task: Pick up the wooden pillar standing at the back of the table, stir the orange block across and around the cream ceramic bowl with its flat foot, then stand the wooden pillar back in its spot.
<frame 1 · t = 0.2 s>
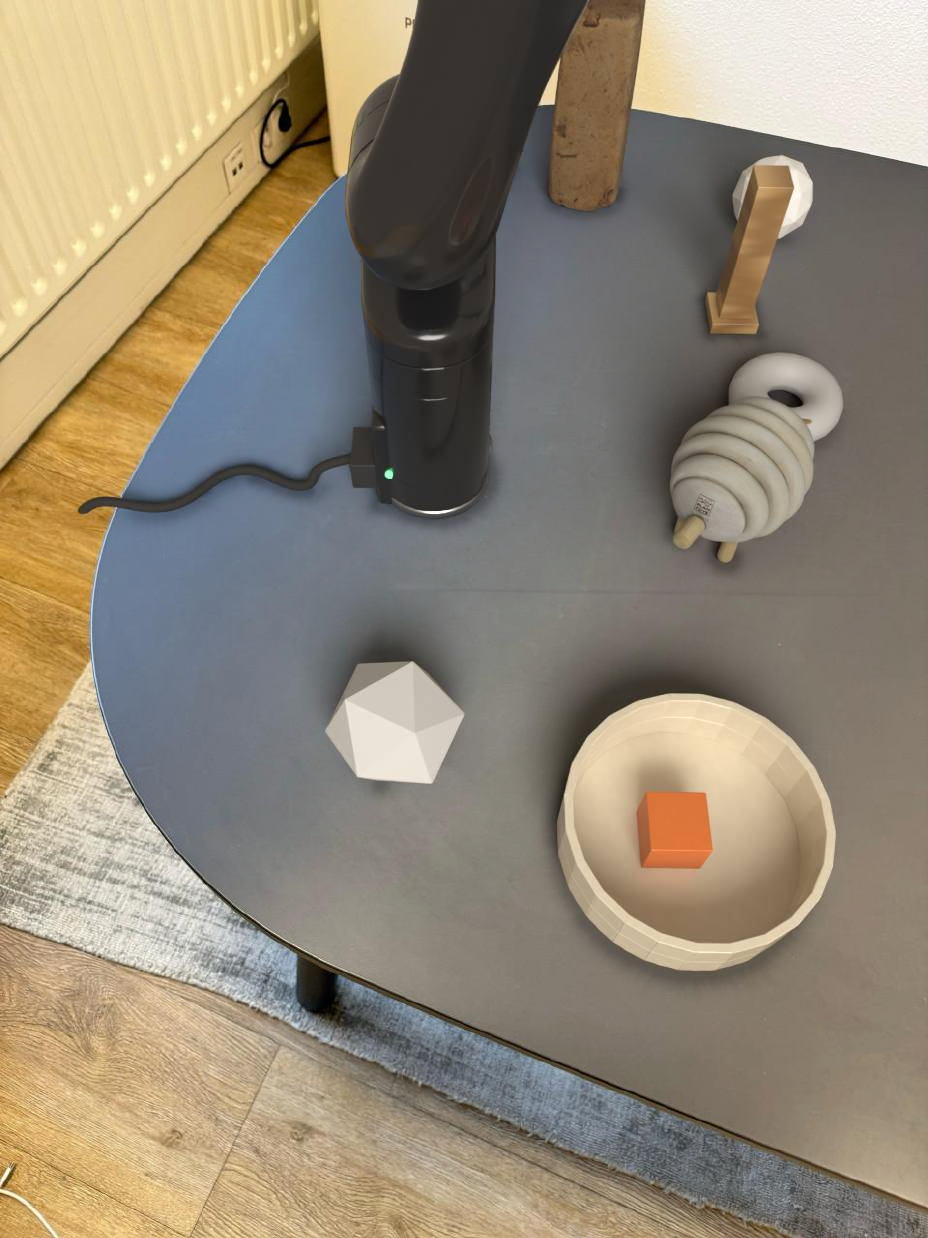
donut: (779, 413, 88), on the table
wooden pillar: (729, 317, 94), on the table
bowl: (680, 842, 67), on the table
die: (397, 746, 71), on the table
geometric ball: (761, 231, 100), on the table
block: (584, 186, 104), on the table
toy sheep: (717, 519, 82), on the table
orange block: (667, 840, 67), point 1 cm above the table, touching bowl
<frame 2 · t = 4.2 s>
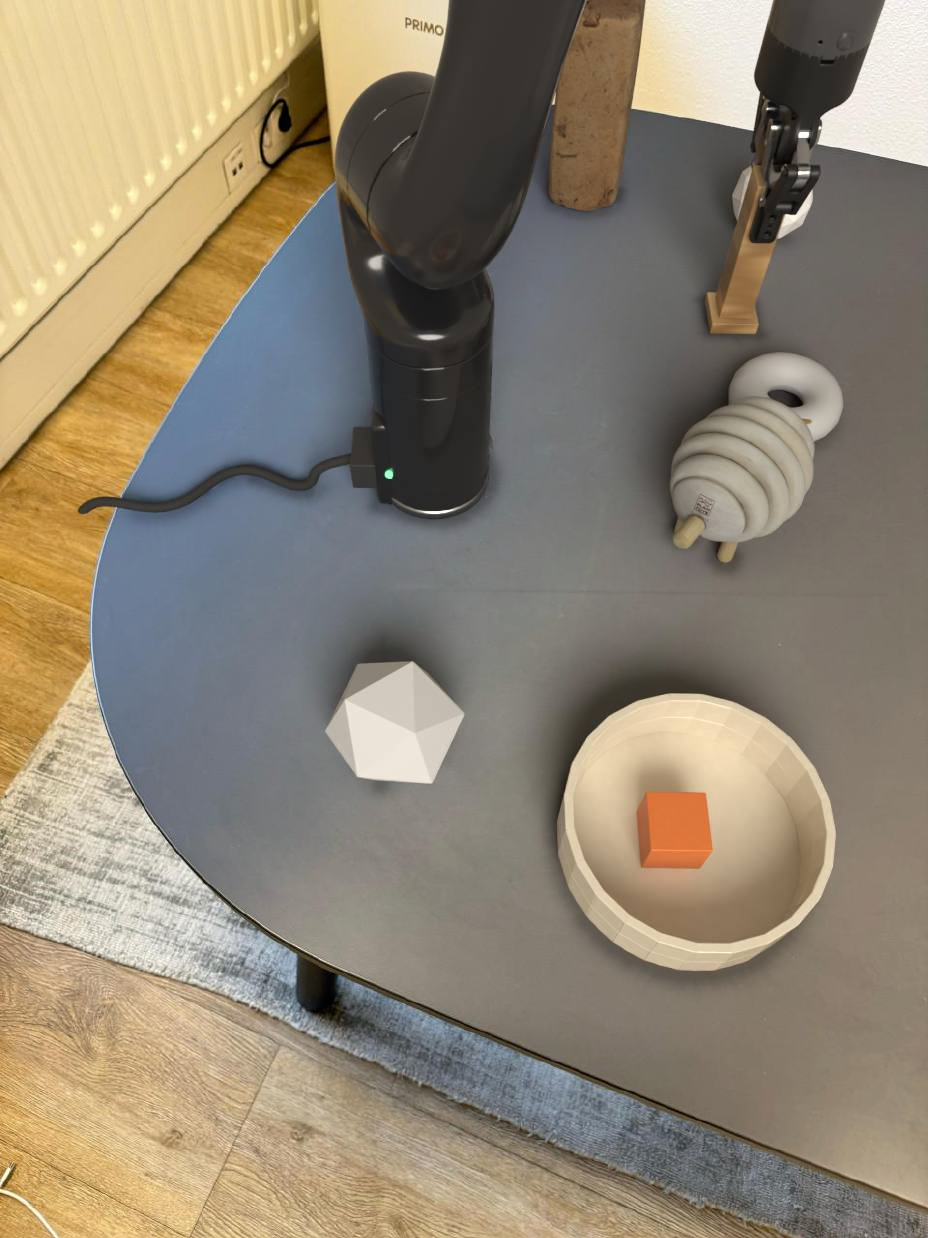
hand: (758, 226, 85), 10 cm above the table, tool pointing down, fingers closed on wooden pillar, 3 cm apart
wooden pillar: (729, 317, 94), on the table, touching gripper
everything else where it was.
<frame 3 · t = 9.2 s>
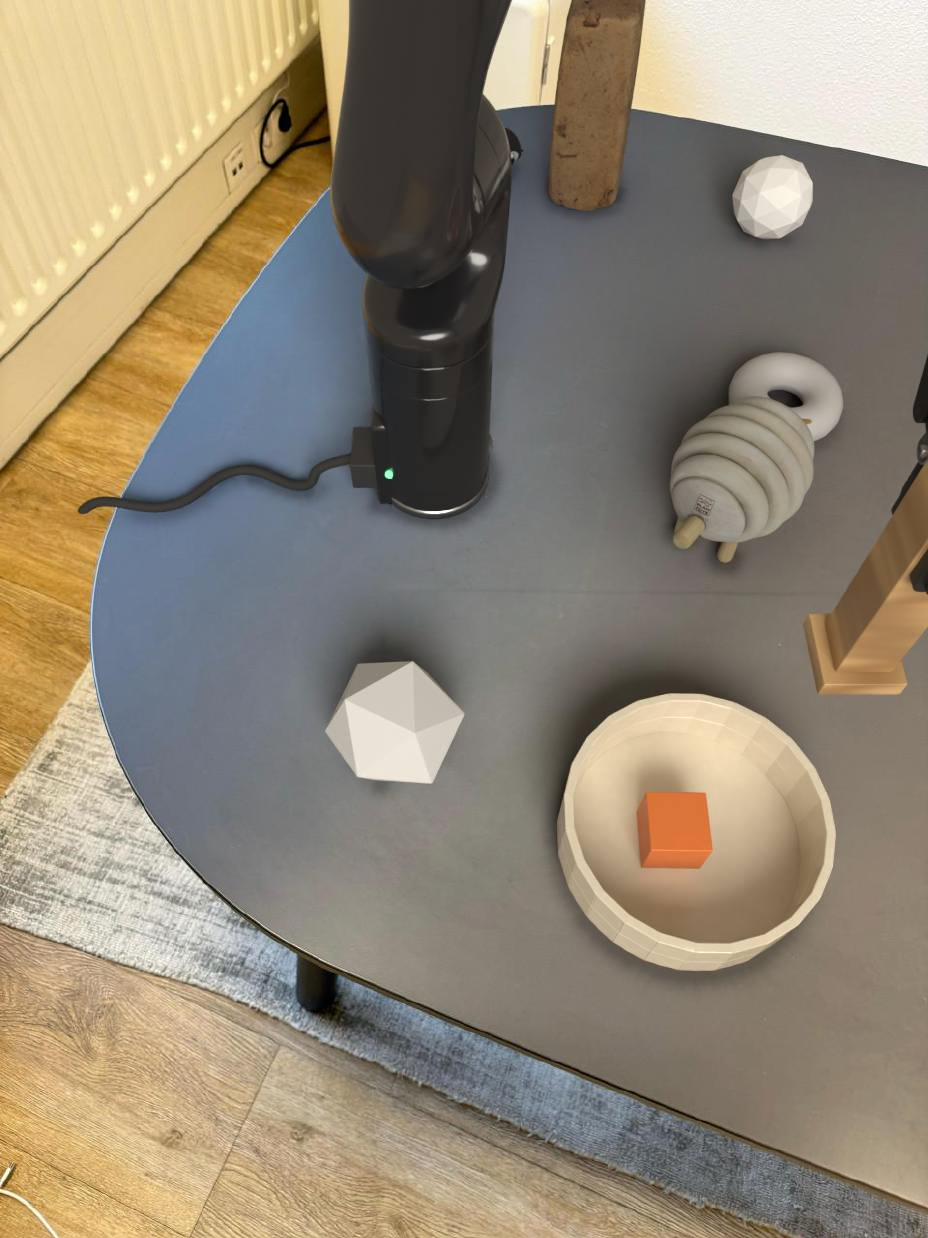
hand: (923, 551, 44), 29 cm above the table, tool pointing down, fingers closed on wooden pillar, 3 cm apart
wooden pillar: (849, 658, 53), point 19 cm above the table, touching gripper
everything else where it was.
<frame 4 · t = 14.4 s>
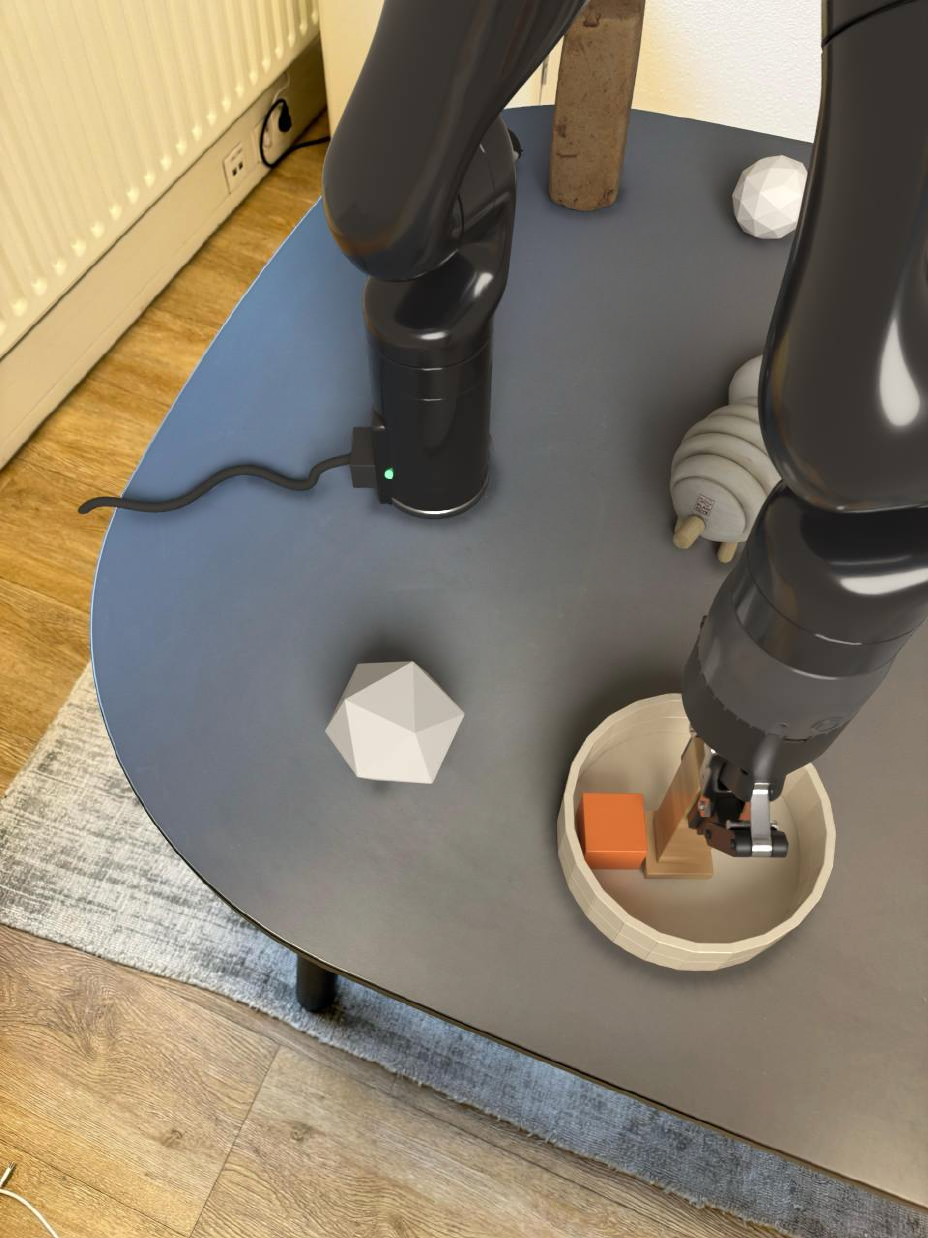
hand: (702, 794, 57), 12 cm above the table, tool pointing down, fingers closed on wooden pillar, 3 cm apart
wooden pillar: (673, 847, 66), point 1 cm above the table, touching gripper
orange block: (606, 841, 67), point 1 cm above the table, touching bowl
everything else where it was.
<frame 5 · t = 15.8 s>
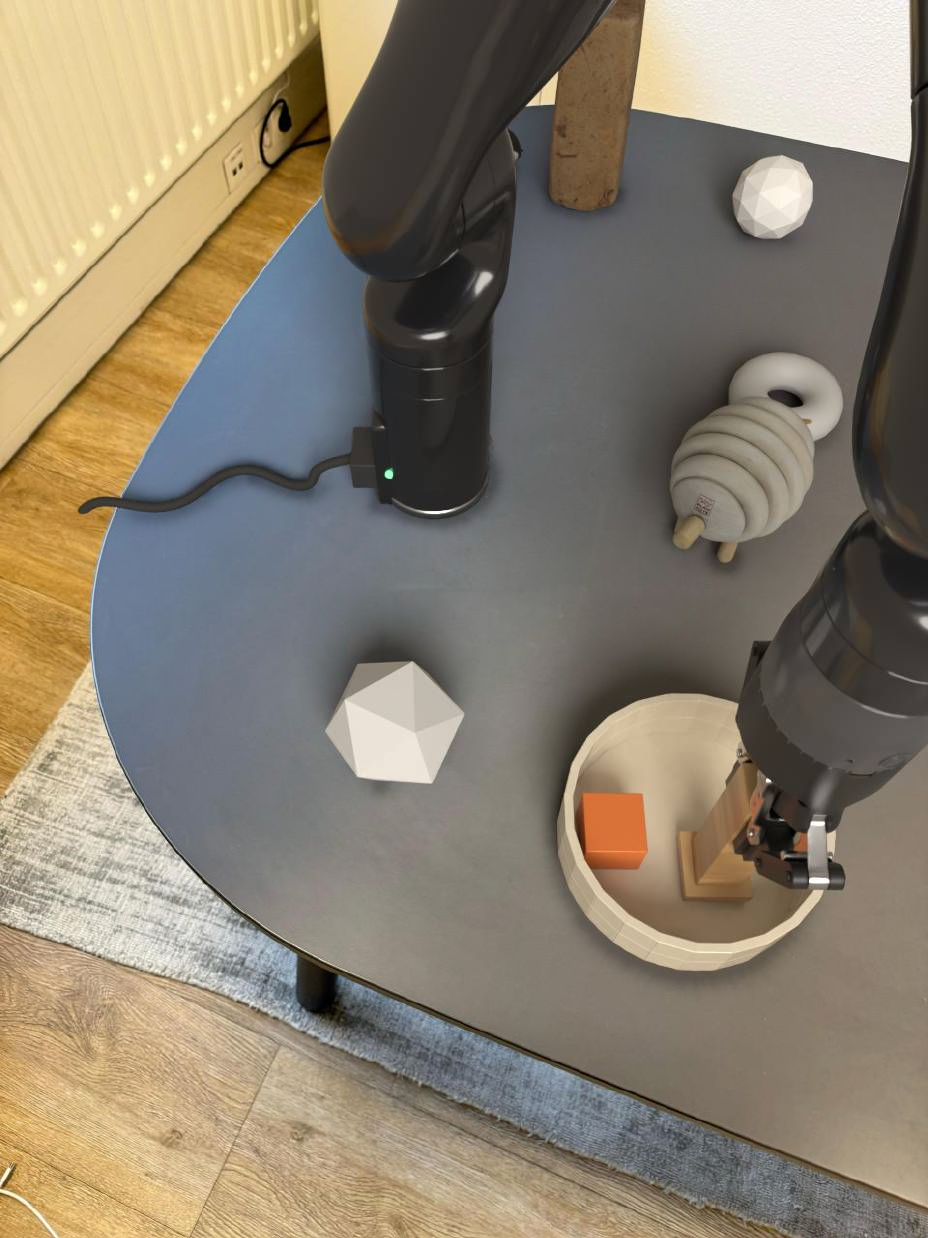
hand: (747, 818, 56), 11 cm above the table, tool pointing down, fingers closed on wooden pillar, 3 cm apart
wooden pillar: (711, 868, 65), point 1 cm above the table, touching gripper
everything else where it was.
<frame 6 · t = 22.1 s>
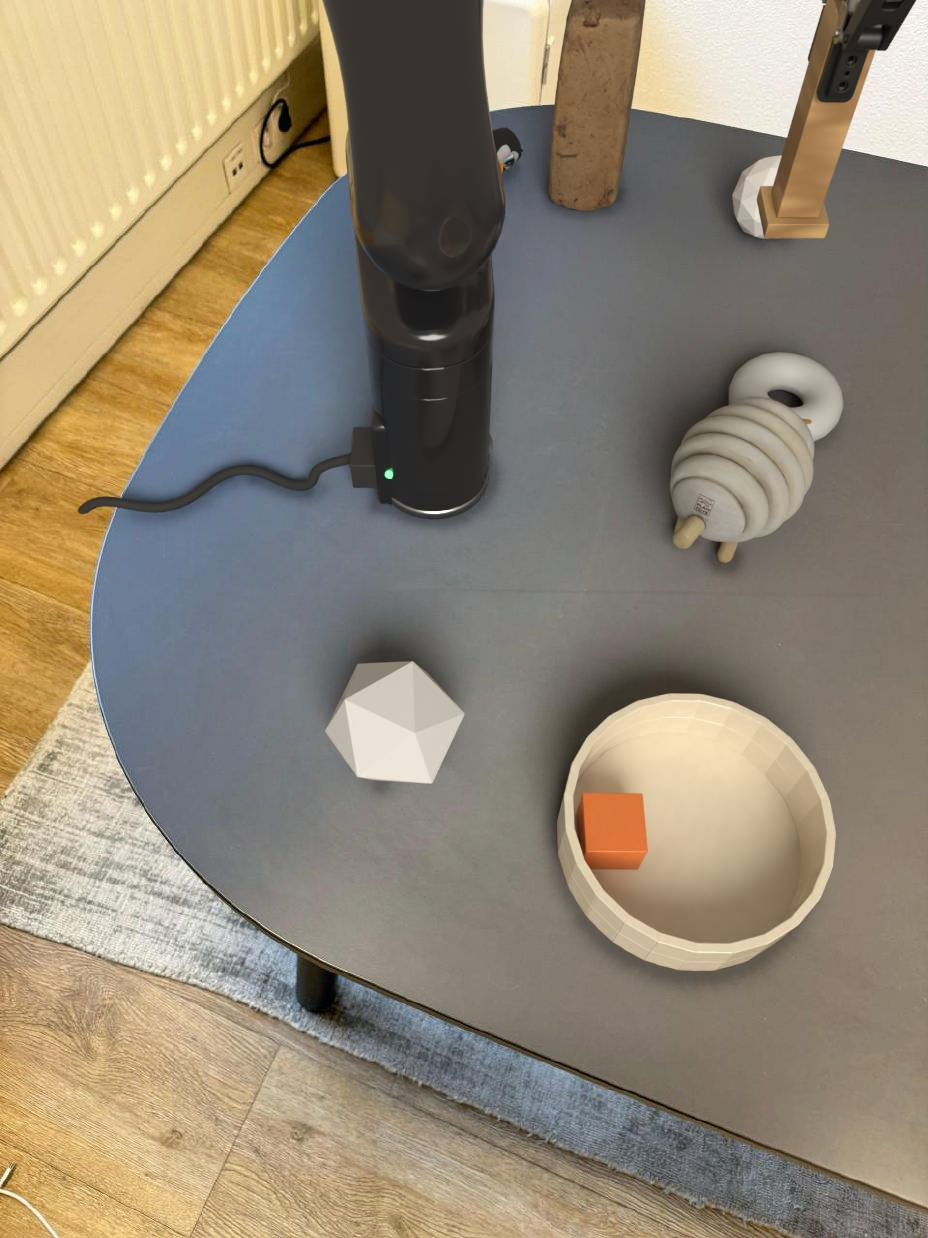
hand: (828, 81, 63), 29 cm above the table, tool pointing down, fingers closed on wooden pillar, 3 cm apart
wooden pillar: (789, 218, 72), point 19 cm above the table, touching gripper
everything else where it was.
when the fingers open (10 cm above the table, at t = 27.4 s): wooden pillar stays where it is, on the table.
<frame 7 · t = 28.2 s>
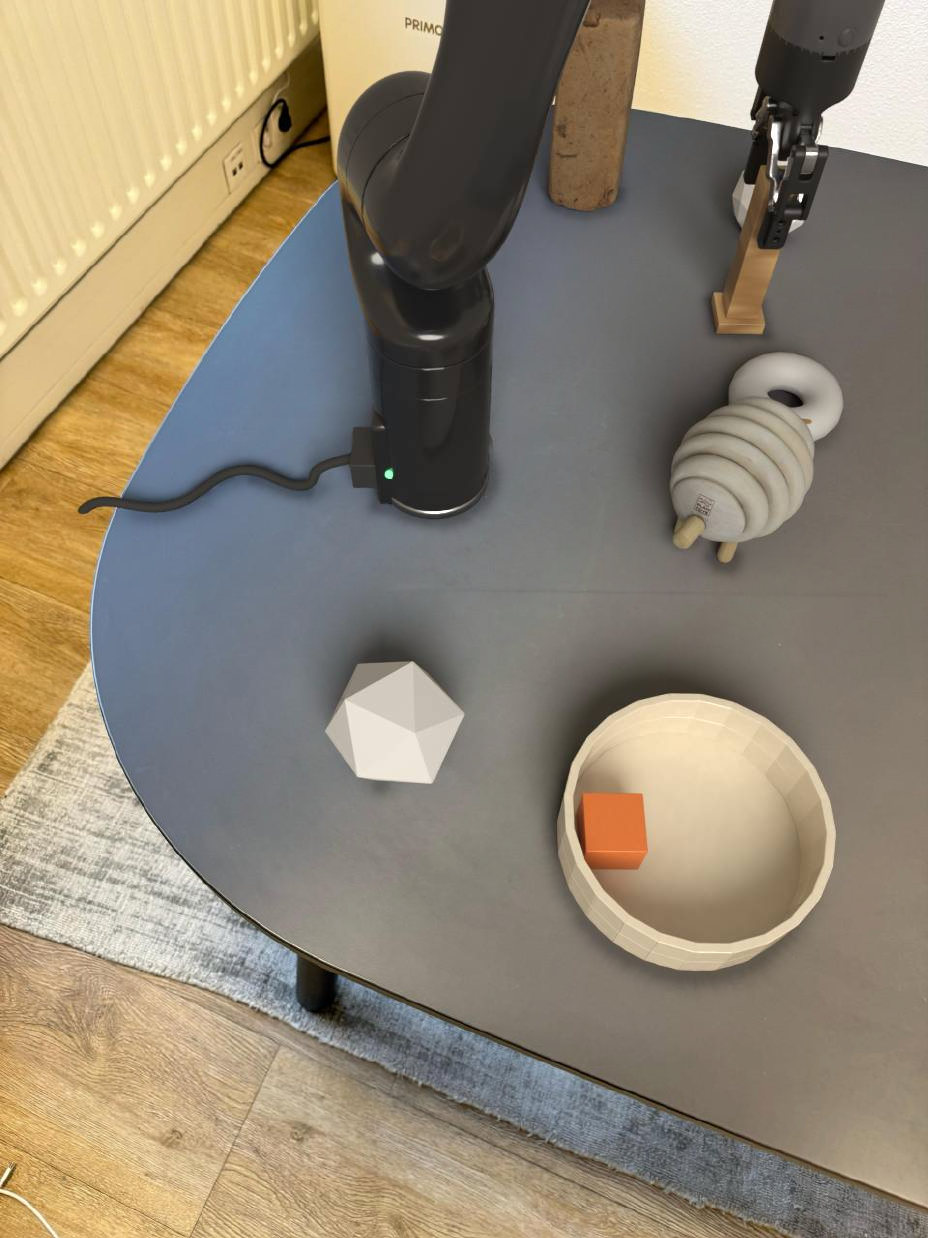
hand: (761, 213, 84), 12 cm above the table, tool pointing down, fingers open, 8 cm apart
wooden pillar: (736, 317, 94), on the table
everything else where it was.
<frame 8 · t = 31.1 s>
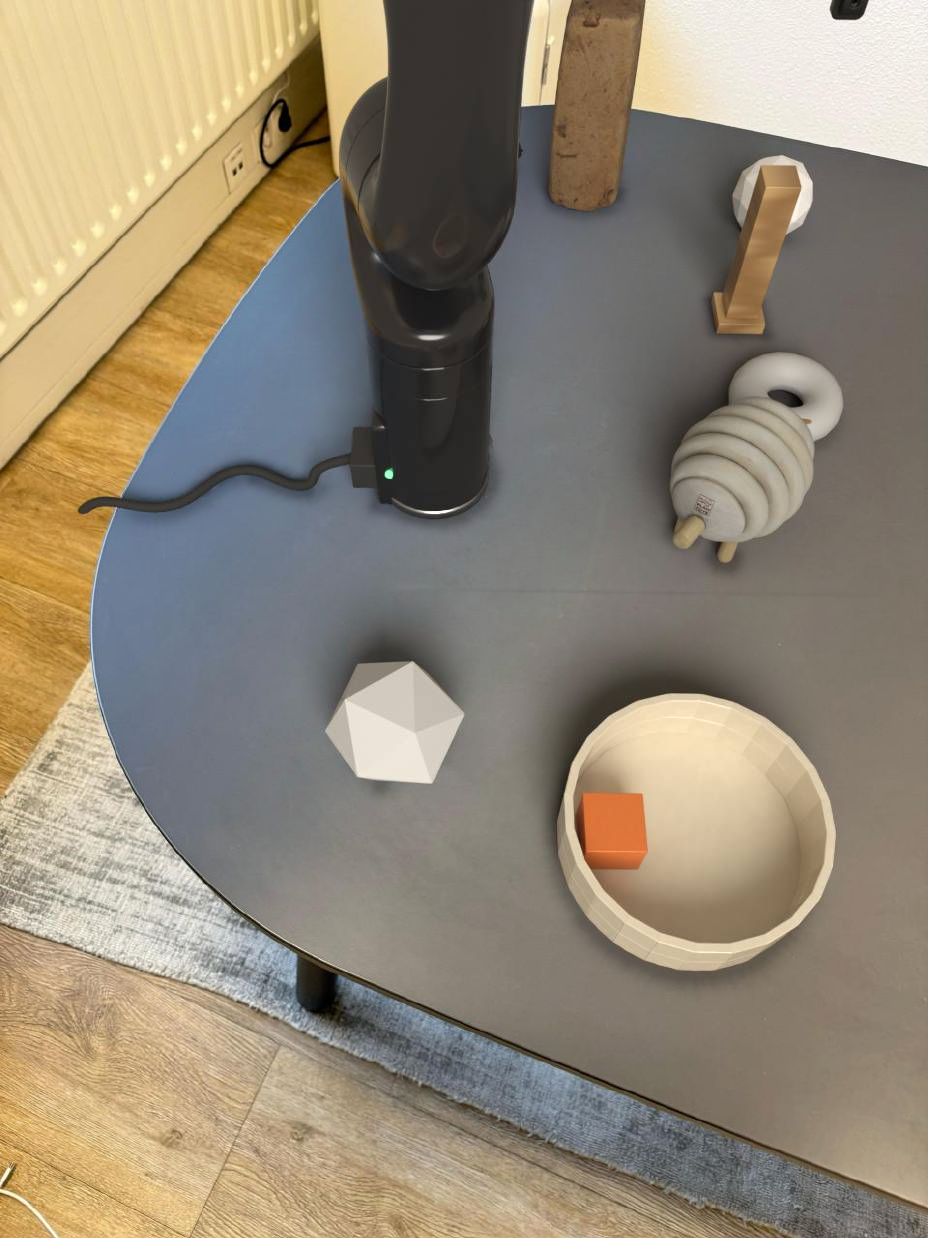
nothing on the table moved.
at the end: orange block moved 4.2 cm from its start; orange block inside the target area in the bowl (5.2 cm from its centre), point 0.6 cm above the bowl's base; wooden pillar tilted 0° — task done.
